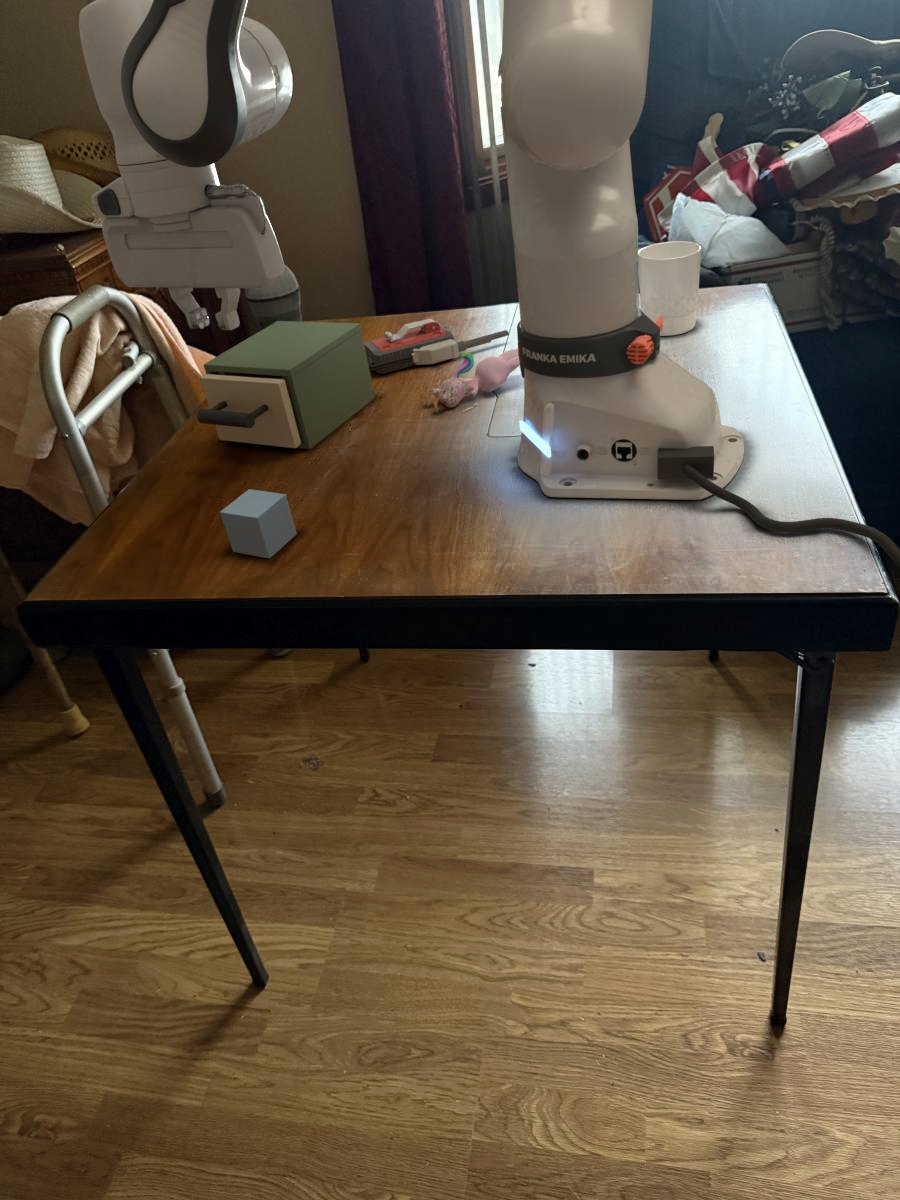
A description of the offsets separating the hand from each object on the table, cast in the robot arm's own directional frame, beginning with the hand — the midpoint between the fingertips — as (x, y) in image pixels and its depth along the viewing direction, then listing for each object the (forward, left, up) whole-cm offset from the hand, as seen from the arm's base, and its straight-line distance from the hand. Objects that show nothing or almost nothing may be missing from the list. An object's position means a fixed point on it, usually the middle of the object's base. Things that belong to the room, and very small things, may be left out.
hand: (215, 327), depth 93 cm
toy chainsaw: (-7, -32, -15) cm, 36 cm away
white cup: (-36, -45, -15) cm, 60 cm away
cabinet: (0, -10, -15) cm, 18 cm away
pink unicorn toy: (-20, -21, -15) cm, 33 cm away
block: (-14, +16, -15) cm, 26 cm away
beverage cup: (+10, -22, -15) cm, 29 cm away
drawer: (0, -6, -14) cm, 15 cm away
